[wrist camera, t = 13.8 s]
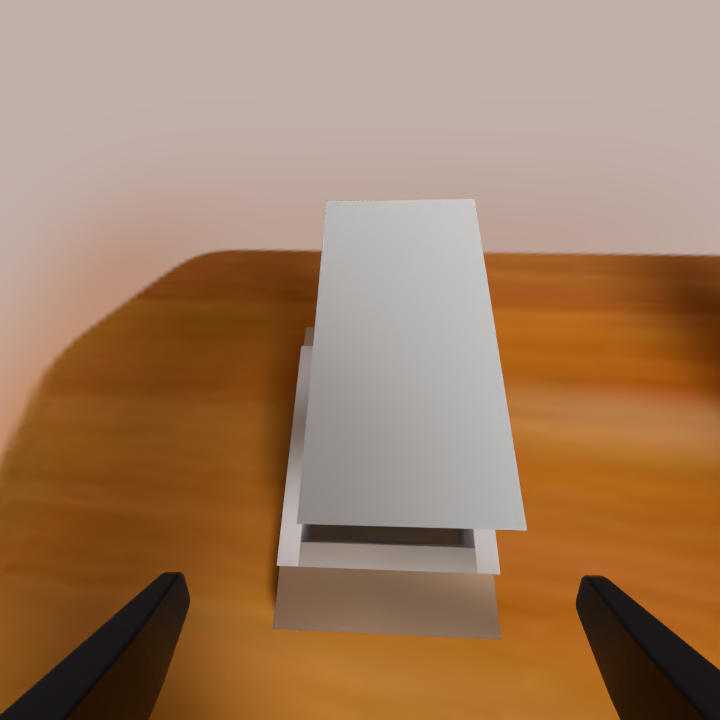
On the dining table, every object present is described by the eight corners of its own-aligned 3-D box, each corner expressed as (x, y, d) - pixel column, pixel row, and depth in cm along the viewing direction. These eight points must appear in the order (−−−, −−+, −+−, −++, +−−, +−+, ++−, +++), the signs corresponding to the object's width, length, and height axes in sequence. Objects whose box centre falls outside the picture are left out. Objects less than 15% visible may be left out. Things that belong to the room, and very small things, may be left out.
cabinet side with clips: (491, 630, 15) (525, 662, 11) (280, 621, 15) (253, 648, 12) (460, 338, 21) (476, 303, 17) (309, 337, 21) (297, 303, 18)
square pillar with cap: (441, 524, 15) (607, 532, 4) (329, 521, 16) (222, 521, 5) (432, 373, 18) (514, 158, 7) (337, 373, 19) (285, 163, 8)
